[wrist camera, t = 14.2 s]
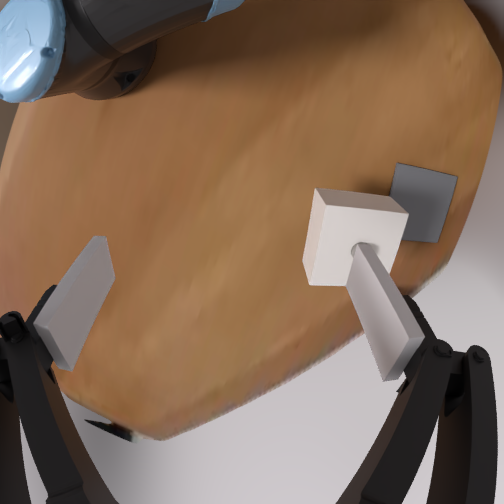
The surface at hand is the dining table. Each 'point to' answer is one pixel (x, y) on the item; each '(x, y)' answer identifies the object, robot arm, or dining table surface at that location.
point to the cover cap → (349, 233)
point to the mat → (422, 200)
